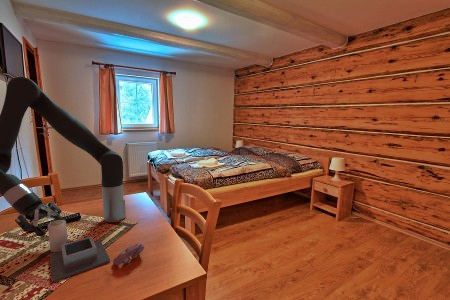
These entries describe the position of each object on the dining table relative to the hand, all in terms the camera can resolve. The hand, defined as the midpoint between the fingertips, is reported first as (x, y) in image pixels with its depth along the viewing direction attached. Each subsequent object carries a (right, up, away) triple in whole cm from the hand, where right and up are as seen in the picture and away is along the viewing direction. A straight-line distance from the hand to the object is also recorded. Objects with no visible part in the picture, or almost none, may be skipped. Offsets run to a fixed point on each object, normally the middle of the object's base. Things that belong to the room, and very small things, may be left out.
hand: (53, 229), depth 85 cm
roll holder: (+13, -9, -6) cm, 17 cm away
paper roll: (+1, -7, +1) cm, 8 cm away
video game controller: (+31, -9, -5) cm, 33 cm away
